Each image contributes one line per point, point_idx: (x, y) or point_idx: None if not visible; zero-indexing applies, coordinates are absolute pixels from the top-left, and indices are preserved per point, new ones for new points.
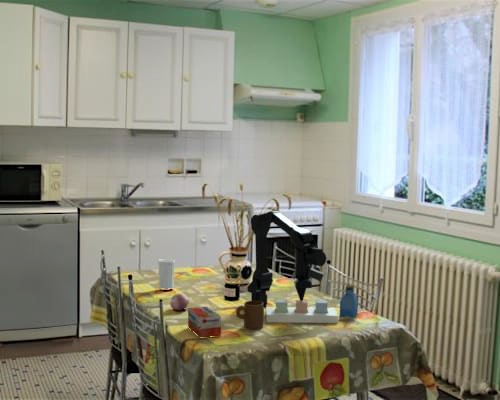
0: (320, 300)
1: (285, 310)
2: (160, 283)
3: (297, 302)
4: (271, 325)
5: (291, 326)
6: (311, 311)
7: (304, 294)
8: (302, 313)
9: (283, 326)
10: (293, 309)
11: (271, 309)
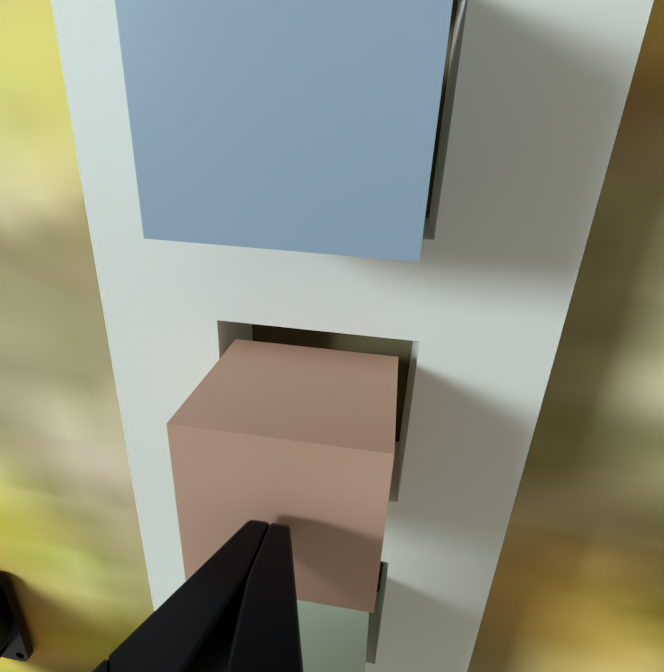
0: (149, 100)
1: None
2: None
3: (360, 597)
4: (553, 645)
5: (634, 515)
6: (331, 282)
7: (300, 660)
8: (440, 427)
9: (613, 575)
10: None
11: None
